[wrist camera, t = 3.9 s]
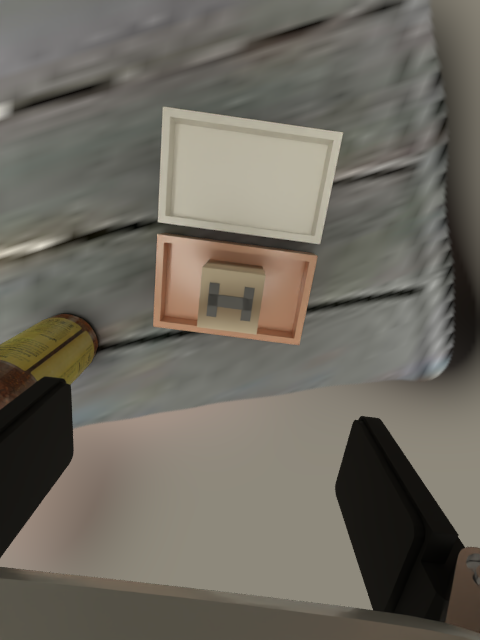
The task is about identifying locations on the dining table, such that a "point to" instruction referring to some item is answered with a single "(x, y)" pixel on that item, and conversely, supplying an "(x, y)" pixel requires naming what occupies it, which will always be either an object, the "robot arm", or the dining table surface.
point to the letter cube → (230, 296)
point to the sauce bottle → (45, 354)
